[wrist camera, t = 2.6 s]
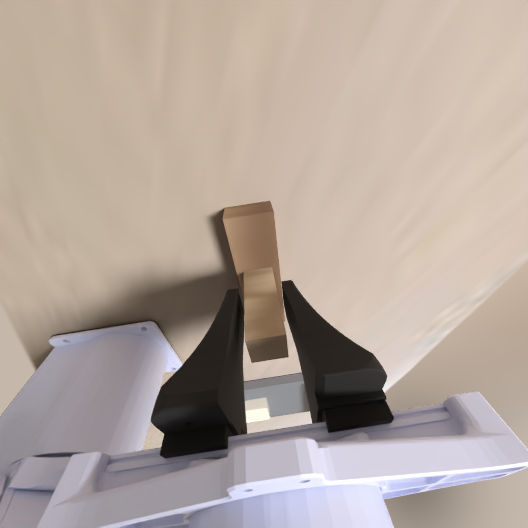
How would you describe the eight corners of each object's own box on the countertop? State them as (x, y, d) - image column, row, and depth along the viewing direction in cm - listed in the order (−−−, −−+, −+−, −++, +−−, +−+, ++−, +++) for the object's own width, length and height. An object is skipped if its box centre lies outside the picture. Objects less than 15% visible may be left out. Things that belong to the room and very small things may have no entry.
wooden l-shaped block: (249, 309, 20) (253, 396, 14) (224, 206, 14) (212, 279, 8) (281, 304, 20) (299, 389, 14) (269, 199, 14) (292, 267, 8)
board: (220, 417, 33) (218, 446, 30) (201, 388, 27) (196, 420, 24) (321, 401, 33) (328, 428, 30) (323, 369, 27) (333, 399, 24)
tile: (242, 413, 31) (242, 423, 30) (236, 402, 28) (236, 412, 27) (269, 409, 31) (270, 419, 30) (266, 397, 28) (267, 407, 27)
